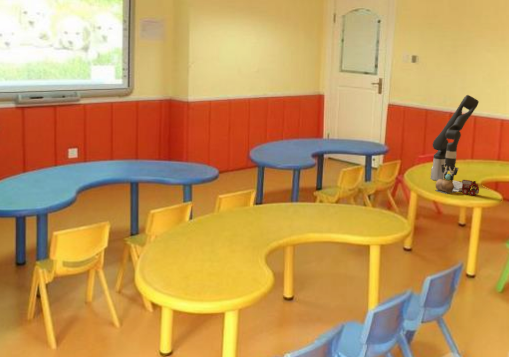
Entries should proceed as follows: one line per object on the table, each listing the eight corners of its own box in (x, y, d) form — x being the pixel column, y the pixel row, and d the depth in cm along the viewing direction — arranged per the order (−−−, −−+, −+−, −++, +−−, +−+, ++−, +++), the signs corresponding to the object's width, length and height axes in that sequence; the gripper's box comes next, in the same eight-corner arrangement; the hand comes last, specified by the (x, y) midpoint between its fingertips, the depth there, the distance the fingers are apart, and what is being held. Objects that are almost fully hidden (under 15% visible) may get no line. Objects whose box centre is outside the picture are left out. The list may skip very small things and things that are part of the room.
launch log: (435, 190, 481) (436, 179, 479) (442, 189, 486) (443, 178, 484) (446, 193, 473) (447, 182, 471) (453, 192, 478) (454, 181, 476)
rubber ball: (447, 179, 483) (448, 172, 482) (453, 180, 479) (454, 174, 478) (443, 180, 480) (444, 173, 479) (448, 181, 476) (449, 174, 475)
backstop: (446, 187, 489) (447, 181, 488) (452, 186, 493) (453, 180, 492) (459, 191, 481) (459, 184, 479) (465, 190, 484) (465, 183, 483)
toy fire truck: (477, 196, 468) (478, 182, 466) (459, 194, 474) (461, 180, 472) (479, 194, 474) (480, 180, 472) (461, 192, 480) (463, 178, 478)
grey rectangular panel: (435, 190, 481) (435, 190, 481) (453, 187, 493) (453, 187, 493) (445, 193, 473) (446, 193, 473) (464, 190, 485) (464, 190, 485)
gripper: (462, 158, 472) (459, 181, 476) (446, 154, 483) (444, 177, 487) (455, 159, 468) (453, 182, 472) (439, 155, 479) (437, 178, 483)
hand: (448, 179), depth 479 cm, fingers closed on rubber ball, 5 cm apart
